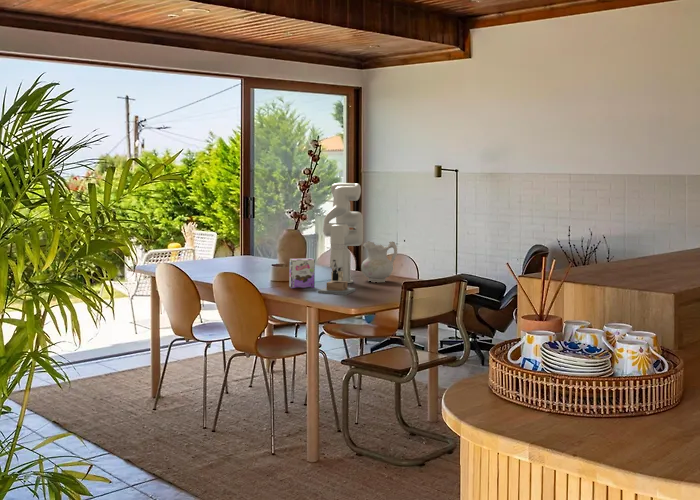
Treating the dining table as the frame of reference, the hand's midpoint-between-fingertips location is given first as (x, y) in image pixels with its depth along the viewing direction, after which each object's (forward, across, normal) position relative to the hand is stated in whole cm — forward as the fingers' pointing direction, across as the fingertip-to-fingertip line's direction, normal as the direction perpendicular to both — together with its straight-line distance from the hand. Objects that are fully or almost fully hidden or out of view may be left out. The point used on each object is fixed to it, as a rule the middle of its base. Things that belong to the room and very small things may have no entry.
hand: (337, 279), depth 462 cm
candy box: (+7, -10, -25) cm, 28 cm away
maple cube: (+1, 0, 0) cm, 1 cm away
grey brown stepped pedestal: (+7, 0, 0) cm, 7 cm away
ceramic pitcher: (+7, -53, +8) cm, 54 cm away
